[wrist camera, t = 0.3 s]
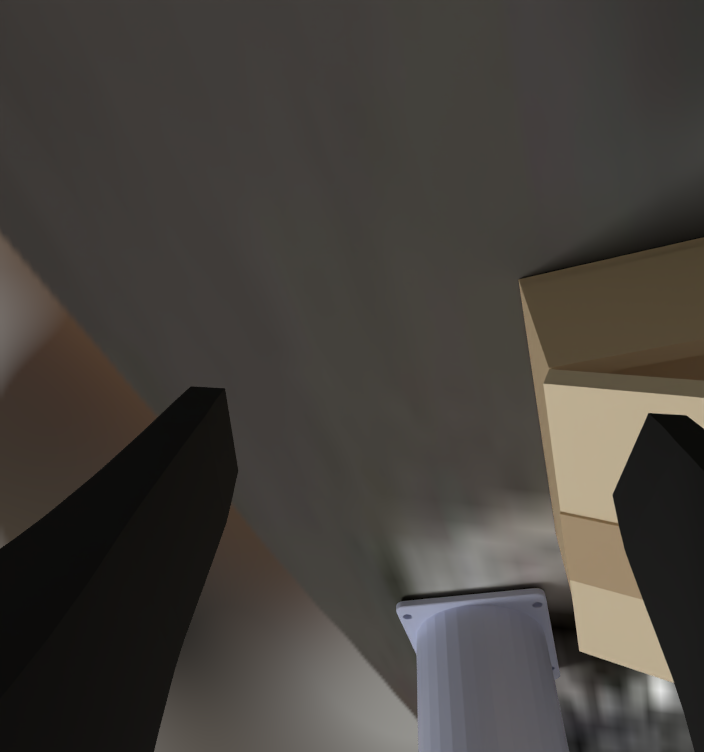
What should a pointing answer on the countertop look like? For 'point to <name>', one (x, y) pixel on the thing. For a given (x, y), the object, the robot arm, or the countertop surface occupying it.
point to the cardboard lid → (607, 502)
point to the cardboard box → (616, 325)
